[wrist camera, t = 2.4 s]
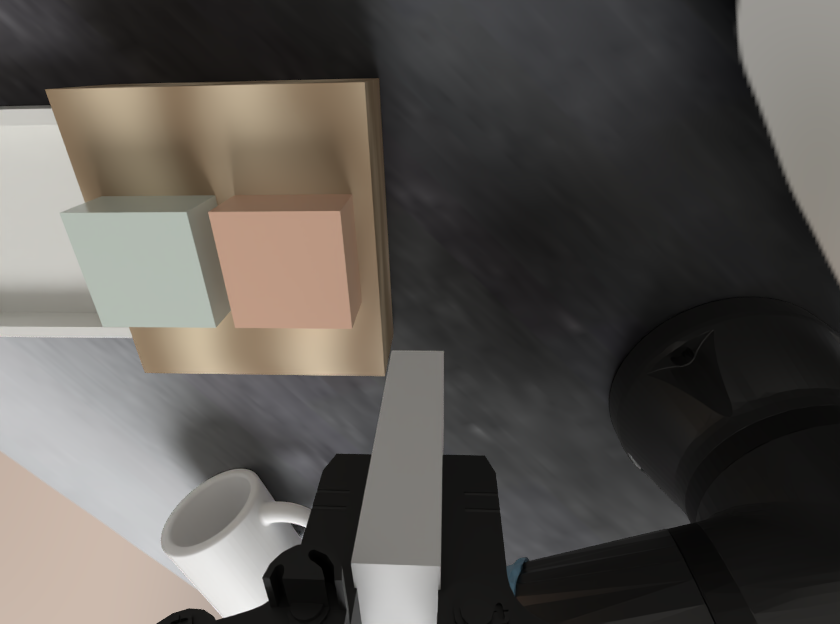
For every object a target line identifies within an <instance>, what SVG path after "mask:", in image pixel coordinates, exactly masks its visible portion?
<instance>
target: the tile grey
mask: <svg viewBox="0 0 840 624" xmlns="http://www.w3.org/2000/svg"><path fill="white" fill-rule="evenodd" d="M217 206H218V205H217V201H216V196H215V195H191V196H101V197H98V198H96V199H93V200H91V201H88V202H86V203H83V204H81V205H78V206H76V207H73V208H70V209H68V210H65V211H63V212H60V216H61V219H62V221H63V224H64V227H65V229H66V232H67V234H68V237H69V240H70V242H71V245H72V247H73V250H74V253H75V255H76V258H77V261H78V263H79V266H80V268H81V271H82V274H83V276H84V279H85V281H86V284H87V287H88V289H89V292H90V295H91V297H92V300H93V302H94V305H95V308H96V310H97V313H98V316H99V318H100V321H101V323H102V326H103V327H179V328H216V327H217V326H218V325H219V324H220V323H221V321H222V320H223V319H224V318H225V317H226V316H227V315H228V313H229V312H230V311H231V308H230V304H229V300H228V295H227V291H226V287H225V282H224V278H223V274H222V270H221V265H220V261H219V257H218V252H217V248H216V244H215V240H214V235H213V231H212V227H211V222H210V218H209V214H208V212H209V211H210V210H212V209H213V208H215V207H217Z"/></svg>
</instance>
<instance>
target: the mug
mask: <svg viewBox="0 0 840 624" xmlns="http://www.w3.org/2000/svg"><path fill="white" fill-rule="evenodd" d="M310 512H311V509H309V508H307V507H305V506H302V505H299V504H295V503H290V502H275V500H274V499H273V497H272V496H271V494H270V493H269V491H268V490H267V488H266V487H265V486H264V484H263V483H262V481H261V480H260V478H259V477H258V475H257V474H256V473H255V472H253V471H251V470H248V469H233V470H229V471H225V472H223V473H220V474H218V475H216V476H214V477H212V478H210V479H208V480H207V481H205V482H203V483H202V484H200V485H199V486H198V487H196V488H195V489H194V490H193V491H191V492H190V493H189V494H188V495H187V496H186V497H185V498H184V499H183V500H182V501H181V502H180V503H179V504H178V505H177V507H176V508H175V509H174V510H173V512H172V513H171V515H170V516H169V518H168V519H167V521H166V523H165V525H164V528H163V531H162V535H161V546H162V549H163V551H164V552H165V553H166V555H167V556H168V557H169V558H170V559H171V560H172V561H173V562H174V563H175V565H176V566H177V567H178V568H179V569H180V570H181V571H182V572H183V574H184V575H185V576H186V577H187V578H188V579H189V580H190V581H191V583H192V584H193V585H194V586H195V587H196V588H197V589H198V590H199V591H200V593H201V594H202V595H203V596H204V597H205V598H206V599H207V600H208V601H209V603H210V604H211V605H212V606H213V607H214V608H215V609H216V610H217V612H218V613H219V614H220V615H221V616H222V617H223V618H226V617H229V616H232V615H236V614H239V613H242V612H246V611H249V610H252V609H254V608H256V607H259V606H261V605H263V604H264V603H266V602H267V601H269V600H268V597H267V593H266V590H265V586H264V583H263V579H262V577H263V575H264V573H265V572H266V570H267V568H268V566H269V564H270V563H271V562H272V561H273V560H274V559H275V558H276V557H277V556H279V555H280V554H281V553H282V552H283V551H285V550H287V549H289V548H291V547H293V546H296V545H299V544H301V542H302V539H301V538H300V536H299V535H298V534H297V532H296V531H295V529H294V528H293V526H292V525H291V523H294V524H298V525H301V526H303V527H305V528H306V526H307V522H308V519H309V516H310Z"/></svg>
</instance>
